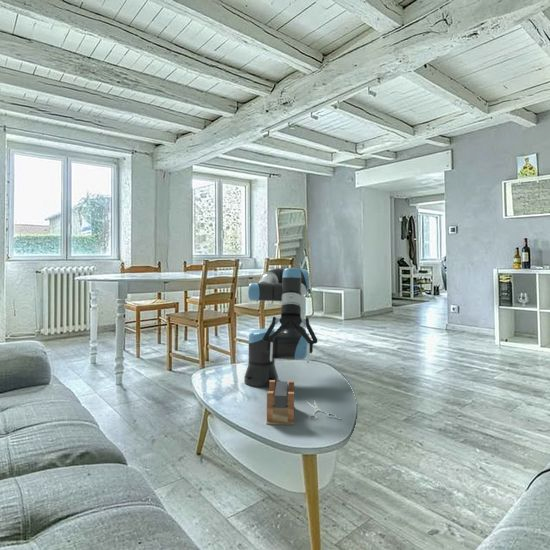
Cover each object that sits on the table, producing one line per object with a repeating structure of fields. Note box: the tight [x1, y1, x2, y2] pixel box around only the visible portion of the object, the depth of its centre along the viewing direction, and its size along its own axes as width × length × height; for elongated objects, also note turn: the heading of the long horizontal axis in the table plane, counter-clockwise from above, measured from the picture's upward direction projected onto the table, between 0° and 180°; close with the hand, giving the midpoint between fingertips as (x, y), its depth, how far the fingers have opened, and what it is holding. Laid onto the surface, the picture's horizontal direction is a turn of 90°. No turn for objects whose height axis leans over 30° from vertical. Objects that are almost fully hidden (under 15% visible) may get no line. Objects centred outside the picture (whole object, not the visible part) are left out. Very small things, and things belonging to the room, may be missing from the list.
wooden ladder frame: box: [265, 380, 295, 426], centre depth 134 cm, size 16×9×10 cm, turn 177°
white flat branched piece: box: [305, 399, 342, 421], centre depth 140 cm, size 11×1×20 cm
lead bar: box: [274, 380, 288, 408], centre depth 134 cm, size 15×4×4 cm, turn 177°
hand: (289, 361), depth 140 cm, fingers open, 13 cm apart
